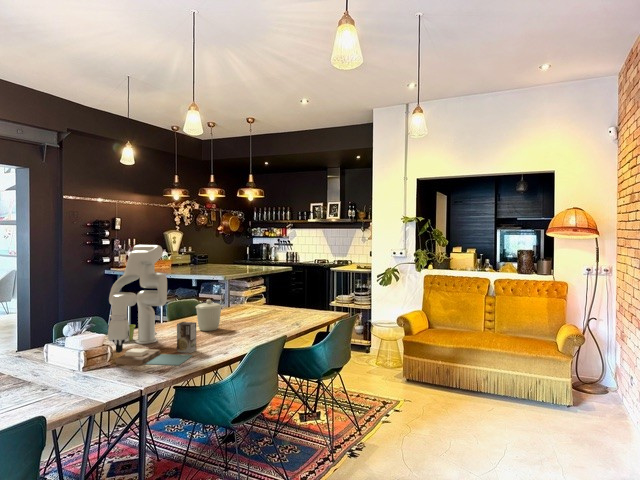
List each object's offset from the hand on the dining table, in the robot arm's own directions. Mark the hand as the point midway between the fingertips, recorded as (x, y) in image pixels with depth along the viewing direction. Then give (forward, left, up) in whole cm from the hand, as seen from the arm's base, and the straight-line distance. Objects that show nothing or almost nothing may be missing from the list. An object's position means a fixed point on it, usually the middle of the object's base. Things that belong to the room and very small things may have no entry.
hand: (119, 351), depth 233 cm
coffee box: (-18, +30, -4) cm, 35 cm away
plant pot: (-39, -17, -4) cm, 43 cm away
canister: (-74, +23, -4) cm, 78 cm away
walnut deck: (0, +11, -3) cm, 11 cm away
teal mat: (0, +28, -3) cm, 28 cm away
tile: (0, +10, -1) cm, 10 cm away
